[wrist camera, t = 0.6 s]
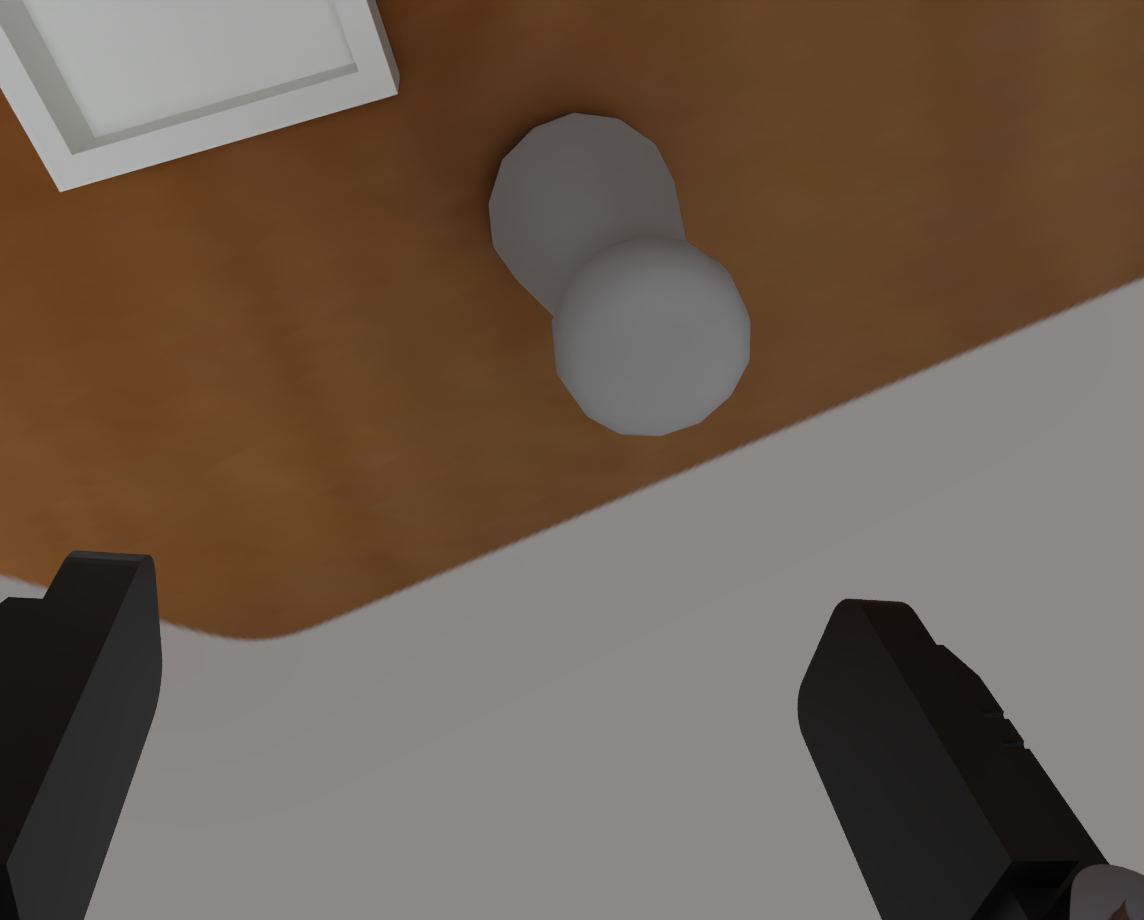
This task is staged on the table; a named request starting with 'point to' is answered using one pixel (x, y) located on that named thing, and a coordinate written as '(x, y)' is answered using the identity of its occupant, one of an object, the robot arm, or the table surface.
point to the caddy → (180, 74)
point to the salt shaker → (618, 276)
